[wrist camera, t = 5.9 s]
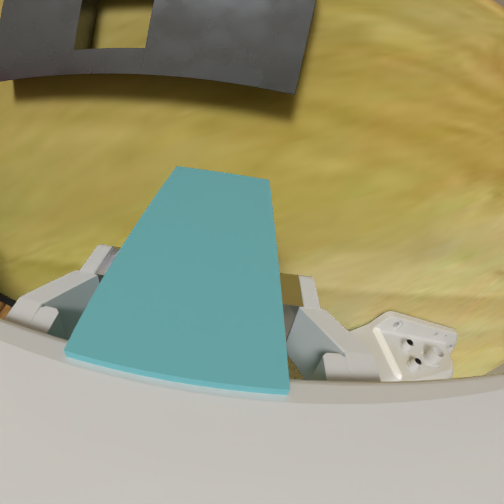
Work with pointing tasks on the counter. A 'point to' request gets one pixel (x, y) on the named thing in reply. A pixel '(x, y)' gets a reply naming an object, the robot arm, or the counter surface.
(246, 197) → the square peg
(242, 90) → the counter surface
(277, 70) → the square hole board
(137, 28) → the counter surface
